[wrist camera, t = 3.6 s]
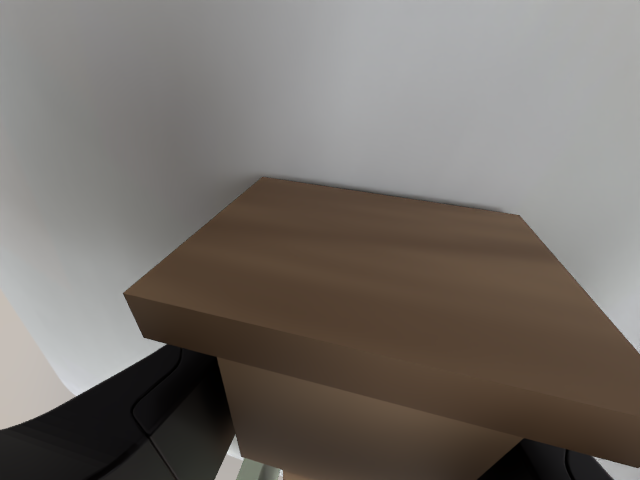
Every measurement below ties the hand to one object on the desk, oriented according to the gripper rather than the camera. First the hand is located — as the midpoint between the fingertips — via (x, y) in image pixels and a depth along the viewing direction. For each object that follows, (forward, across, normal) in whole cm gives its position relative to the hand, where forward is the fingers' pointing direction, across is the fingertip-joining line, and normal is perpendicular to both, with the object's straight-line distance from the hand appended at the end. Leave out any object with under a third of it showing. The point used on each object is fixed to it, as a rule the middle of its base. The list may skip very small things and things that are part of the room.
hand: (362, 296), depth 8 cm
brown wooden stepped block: (+1, 0, +6) cm, 7 cm away
